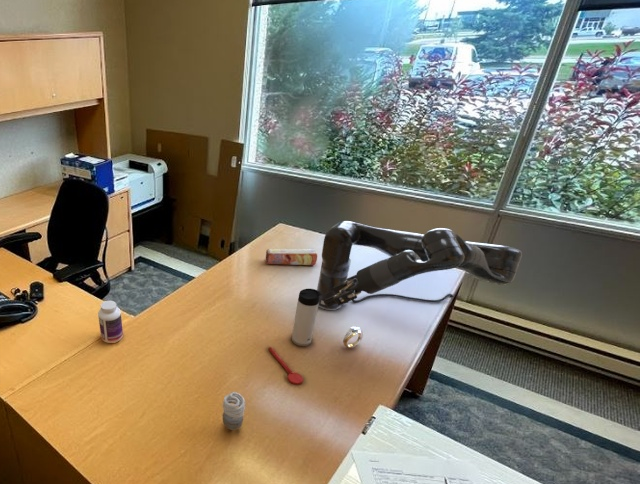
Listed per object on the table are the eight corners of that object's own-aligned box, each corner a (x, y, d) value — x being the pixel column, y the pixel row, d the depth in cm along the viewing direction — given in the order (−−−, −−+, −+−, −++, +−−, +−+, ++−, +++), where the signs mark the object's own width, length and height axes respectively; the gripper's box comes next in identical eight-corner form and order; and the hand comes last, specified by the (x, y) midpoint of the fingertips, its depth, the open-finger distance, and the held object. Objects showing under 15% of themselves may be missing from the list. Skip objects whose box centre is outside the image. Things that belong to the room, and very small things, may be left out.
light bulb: (218, 421, 115) (220, 390, 110) (238, 418, 116) (241, 387, 110) (224, 438, 111) (227, 406, 105) (245, 435, 111) (248, 404, 105)
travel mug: (313, 347, 139) (323, 298, 129) (292, 346, 140) (301, 296, 130) (310, 335, 144) (319, 287, 134) (290, 334, 146) (298, 286, 136)
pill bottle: (126, 333, 152) (124, 300, 145) (117, 346, 146) (113, 313, 139) (107, 328, 155) (103, 296, 148) (97, 341, 149) (92, 308, 142)
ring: (356, 342, 140) (361, 323, 136) (363, 348, 137) (368, 329, 133) (338, 346, 139) (343, 327, 135) (345, 352, 136) (350, 333, 132)
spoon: (263, 350, 139) (263, 347, 139) (275, 347, 140) (275, 345, 140) (292, 386, 125) (293, 383, 124) (305, 382, 126) (306, 380, 125)
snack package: (266, 265, 188) (267, 252, 185) (264, 258, 194) (266, 246, 190) (316, 267, 184) (318, 254, 181) (313, 260, 190) (315, 247, 186)
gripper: (381, 298, 112) (330, 318, 124) (393, 275, 121) (344, 296, 133) (364, 276, 112) (314, 298, 125) (377, 255, 121) (329, 277, 134)
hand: (329, 297), depth 129 cm, fingers open, 8 cm apart
